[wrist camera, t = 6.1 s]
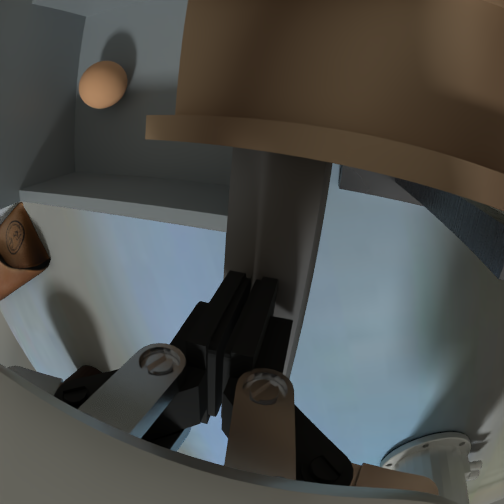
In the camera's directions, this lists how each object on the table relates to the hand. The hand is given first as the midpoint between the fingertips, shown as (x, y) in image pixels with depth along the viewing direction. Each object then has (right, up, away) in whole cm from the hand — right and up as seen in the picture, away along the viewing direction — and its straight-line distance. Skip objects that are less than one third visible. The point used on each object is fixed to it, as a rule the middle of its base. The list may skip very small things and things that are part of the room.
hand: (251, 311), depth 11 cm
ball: (-10, +14, +7) cm, 19 cm away
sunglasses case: (-31, +2, +20) cm, 37 cm away
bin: (-6, +14, +8) cm, 18 cm away
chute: (+7, +2, -4) cm, 8 cm away
